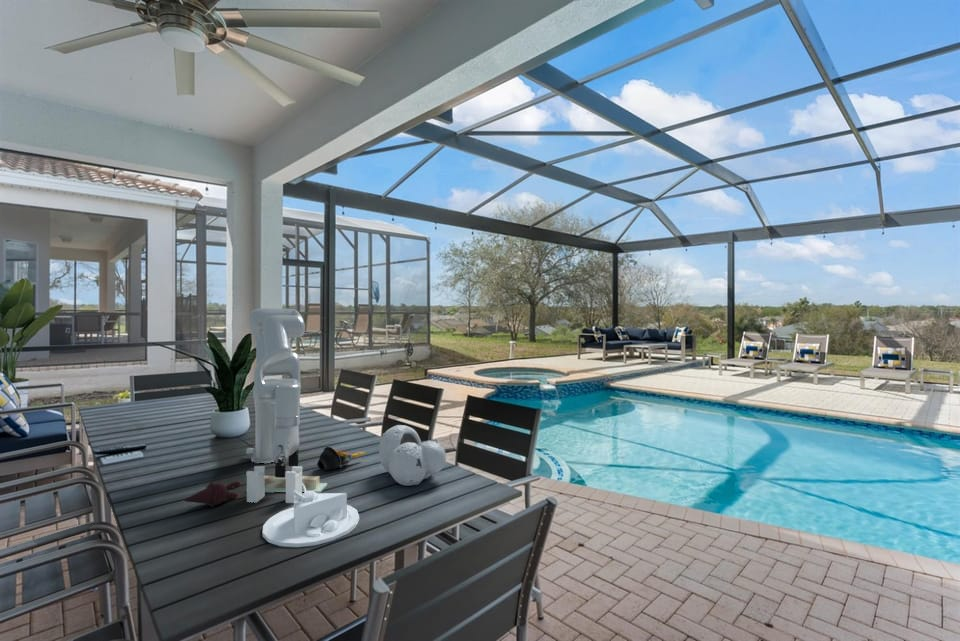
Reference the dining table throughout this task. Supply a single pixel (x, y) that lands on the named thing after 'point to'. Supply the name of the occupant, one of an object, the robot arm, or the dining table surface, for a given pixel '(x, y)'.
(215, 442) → the dining table surface
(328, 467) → the fried shrimp in bowl
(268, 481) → the rail
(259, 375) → the robot arm
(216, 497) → the icecream
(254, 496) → the post
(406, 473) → the grey lumpy clump
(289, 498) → the post
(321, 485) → the mat
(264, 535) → the dish
